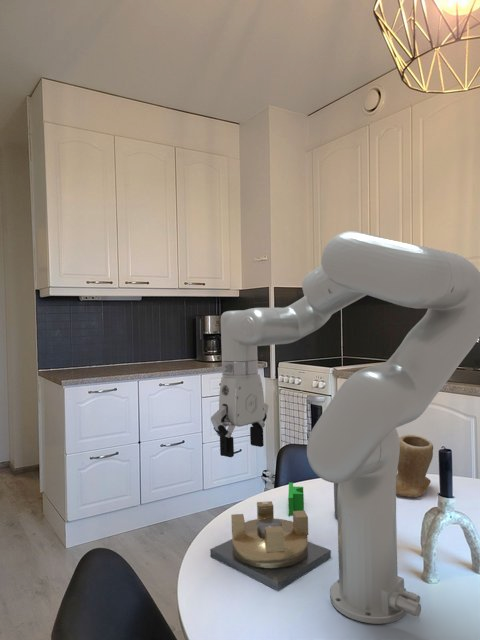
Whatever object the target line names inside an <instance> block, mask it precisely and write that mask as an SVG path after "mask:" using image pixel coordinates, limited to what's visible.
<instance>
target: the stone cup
mask: <svg viewBox="0 0 480 640" xmlns="http://www.w3.org/2000/svg"><path fill="white" fill-rule="evenodd" d="M399 441H400V453H399V462H398V469H397V478H396V495H398V496H403V497H404V496H405V497H410V498H411V497H413V498H417V497H420V496H422V495H423V494H424V493H425V492H426V491H427V490H428V488H429V486H430V484H431V483H432V481H431V479H430V478H428V477H427V473H428V470H429V469H430V465H431V463H432V460H433V456H434V445H433V442H431V441H430V440H428V439H427V438H425V437H422V436H420V435H416V434H415V435H414V434H404V435H402V436H399Z"/></svg>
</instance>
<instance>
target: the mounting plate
mask: <svg viewBox="0 0 480 640" xmlns="http://www.w3.org/2000/svg"><path fill="white" fill-rule="evenodd" d="M209 551H210V552H209V553H210V556H209V557H210V558H212V559H214V560H216V561H218V562H220V563H222V564H224V565H226V566H228V567H230V568H232V569H234V570H236V571H237V572H239V573H242V574H243V575H245V576H247V577H249V578H252V579H254V580H255V581H258V582H259V583H261V584H263V585H265V586H267V587H269V588H272V589H274V590H275V591H277V592H279V591H280V590H282V589H284V588H285V587H288V586H289V585H290V584H291V583H294V582H295V581H297V580H298V579H300V578H301V577H304V575H307V574H308V573H309V572H311V571H313V570H314V569H316V568H317V567H319V566H321V565H322V564H324V563H325V562H327V561H328V560H330V559H331V558H332V555H331V554H332V552H331V551H332V550H331V549H328V548H325V547H323V546H320V545H319V544H317V543H316V544H315V543H314V542H311V541H308V552H307V555H306V557H305V558H304V559H303V560H301V561H300V562H298V563H296V564H293V565H290V566H286V567H281V568H261V567H255V566H251V565H248V564H245V563H243V562H241V561H240V560H238V559H237V558H236V557H235V556H234V554H233V544H232V539H229V540H227V541H225V542H223V543H221V544H219V545H216V546H214V547H212V548H209Z"/></svg>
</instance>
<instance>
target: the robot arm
mask: <svg viewBox="0 0 480 640" xmlns="http://www.w3.org/2000/svg"><path fill="white" fill-rule="evenodd" d="M320 260H321V261H320V262H321V263H320V264H321V265H319V266H317V267H315V268H314V269H312V270H311V271H310V272H308V273H307V274H306V275H305V276H304V277H303V280H302V285H301V288H302V293H303V297H301V298H300V299H298V300H296V301H294V302H293V303H292V304H290V305H288V306H284V307H254V308H253V307H252V308H248V309H244V310H243V309H242V310H240V309H239V310H227V311H224V312H223V313H222V314H221V315H220V335H221V336H220V337H221V338H220V339H221V341H220V343H221V344H220V345H221V347H220V348H221V367H220V370H221V374H222V375H221V379H220V385H219V396H218V410H217V411H216V412H214V413H213V415H212V416H210V421H211V424H212V426H213V430H214V431H215V433H216V435H217V436H218V437H219V452H220V456H222V457H226V458H227V457H228V458H233V457H234V455H235V450H234V436H232V434H233V433H234V430H235V427H244V426H248V425H251V426H250V427H249V432H250V433H249V434H250V435H249V436H250V443H249V444H250V445H251V446H254V447H260V448H261V447H262V448H263V447H264V428H265V426H266V424H265V422H266V420H267V414H268V411H269V404H267V403H265V395H264V388H263V382H262V378H261V375H260V374H259V366H258V362H259V360H258V359H259V358H258V347H262V346H265V347H266V346H271V345H287V344H291V343H294V342H297V341H299V340H301V339H302V338H304V337H306V336H308V335H310V334H312V333H314V332H316V331H317V330H319V329H320V328H322V327H323V326H324V325H325V324H326V323H327V322H328V321H329V320H330V318H331V317H332V315H333V314H335V313H337V312H338V311H341V310H342V309H344V308H345V307H347V306H350V305H351V304H353V303H355V302H357V301H359V300H360V299H362V298H364V297H366V296H370V297H373V298H376V299H379V300H382V301H385V302H388V303H390V304H391V303H392V304H394V305H397V306H401V307H405V308H411V309H412V308H413V309H427V311H426V313H425V314H424V315H423V316H422V318H421V319H420V320H419V321H418V322H417V323H416V324H415V325H414V326H413V327H412V328H411V329H410V331H408V333H407V334H406V336H405V337H404V339H403V340H402V342H401V343H400V345H399V346H398V347H397V349H396V350H395V352H394V353H393V354H392V355H391V356H390V358H388V360H386V361H385V362H383V363H381V364H377V365H372V366H367V367H364V368H361V369H359V370H357V371H355V372H354V373H352V375H350V376H349V377H348V378H346V380H344V382H343V383H342V384H341V386H340V387H339V389H338V390H337V392H336V393H335V395H334V396H333V397H332V399H331V400H330V402H329V404H328V405H327V406H326V407H325V410H324V411H323V412H322V414H321V415H320V417H319V418H318V419H317V421H316V423H315V424H314V426H313V427H312V429H311V431H310V433H309V435H308V439H307V445H306V456H307V460H308V461H307V462H308V463H309V466H310V468H311V470H312V471H313V472H314V473H315V474H316V475H317V476H318V478H320V479H322V480H323V481H325V482H328V483H333V484H334V483H338V492H337V512H338V520H337V541H338V542H337V545H338V546H337V547H338V551H337V552H338V579H336V580H335V582H333V583H332V585H331V587H330V589H329V596H330V597H329V599H330V602H331V604H332V606H333V607H334V608H335V609H336V610H337V611H338V612H340V613H341V614H342V615H344V616H345V617H347V618H350V619H352V620H354V621H358V622H361V623H365V624H375V625H377V624H378V625H379V624H380V625H381V624H389V623H393V622H396V621H398V620H400V619H402V618H403V617H405V615H406V614H408V615H411V616H413V617H416V618H418V617H419V616H420V615H421V612H422V605H421V603H420V602H421V596H420V595H419V594H416V593H414V592H412V591H411V592H410V591H408V590H407V589H406V588H405V579H404V578H403V577H401V576H399V575H398V574H399V572H398V570H399V569H398V536H397V535H398V534H397V532H398V531H397V494H396V478H397V473H398V462H399V453H400V441H399V438H400V436H399V433H398V430H397V428H400V427H402V426H404V425H407V424H410V423H412V422H414V421H416V420H417V419H418V418H420V417H421V416H422V415H424V413H425V411H426V410H427V409H428V407H429V406H430V404H431V403H432V401H433V400H434V399H435V398H436V397H437V395H438V393H439V392H440V391H441V390H442V388H443V387H444V386H445V384H446V383H447V382H448V380H450V378H451V377H452V375H453V374H454V372H455V371H456V370H457V368H458V367H459V365H460V364H461V363H462V362H463V360H464V359H465V357H467V355H468V354H469V353H470V351H471V350H472V349H473V347H474V346H475V345H476V343H477V342H478V340H479V338H480V271H479V269H478V267H476V266H475V264H473V262H472V261H470V260H468V259H467V258H466V257H464V256H462V255H459V254H456V253H454V252H450V251H446V250H445V251H444V250H440V249H435V248H432V247H428V246H422V245H418V244H412V243H408V242H403V241H398V240H393V239H389V238H388V239H387V238H384V237H382V236H379V235H375V234H371V233H365V232H363V231H357V230H347V231H343V232H340V233H338V234H336V235H335V236H334V237H332V238H331V239H330V240H329V241H328V242H327V243H326V245H325V247H324V248H323V251H322V254H321V259H320Z"/></svg>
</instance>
